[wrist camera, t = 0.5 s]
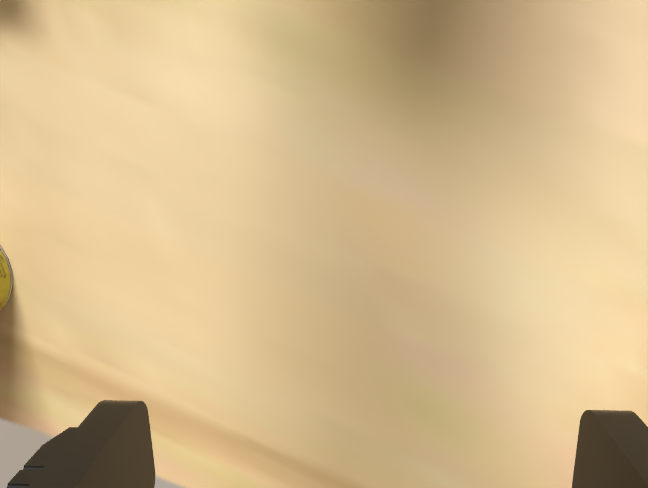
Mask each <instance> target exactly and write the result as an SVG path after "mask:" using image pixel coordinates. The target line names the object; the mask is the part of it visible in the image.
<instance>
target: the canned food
mask: <svg viewBox="0 0 648 488" xmlns="http://www.w3.org/2000/svg"><path fill="white" fill-rule="evenodd" d="M12 285H13V279H12V269H11V266H10V263H9V260H8V257H7V256H6V254H5V252H4V251H3V249H2V248H1V246H0V310H1V309H2V308H3V307H4V306H5V304H6V303H7V301H8V299H9V297H10V295H11V290H12Z"/></svg>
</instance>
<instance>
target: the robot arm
mask: <svg viewBox="0 0 648 488" xmlns="http://www.w3.org/2000/svg"><path fill="white" fill-rule="evenodd" d="M154 484H155V466H154V458H153V449H152V441H151V432H150V424H149V416H148V410H147V406H146V404H145V403H144V402H143V401H112V400H103V401H101V402H99V403H98V404H97V405H96V407H95V408H94V409H93V410H92V411H91V412H90V414H89V415H88V416H87V417H86V418H85V420H84V421H83V422H82V423H81V424H80V425H79V427H78V428H77V427H70V428H68V429H67V430H65V431H63V432H62V433H60V434H59V435H57V436H56V437H54V438H53V439H51V440H50V441H48V442H47V443H45V444H44V445H42V446H41V448H40V449H39V450H38V451H37V452H36V453H35V454H34V455H33V457H31V459H30V460H29V461H28V462H27V463H26V464H25V465H24V469H23V470H20V471H19V472H18V473H17V474H16V475H15V476H14V477H13V478H12V480H11V481H10V482H9V483H8V486H7V488H154ZM572 488H648V427H647V426H646V425H645V424H644V422H643V421H642V420H641V419H640V418H639V417H638V416H637V415H636V414H635V413H634V412H632V411H609V410H586V411H585V412H584V413H583V414H582V416H581V420H580V426H579V434H578V442H577V450H576V458H575V466H574V474H573V483H572Z"/></svg>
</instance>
